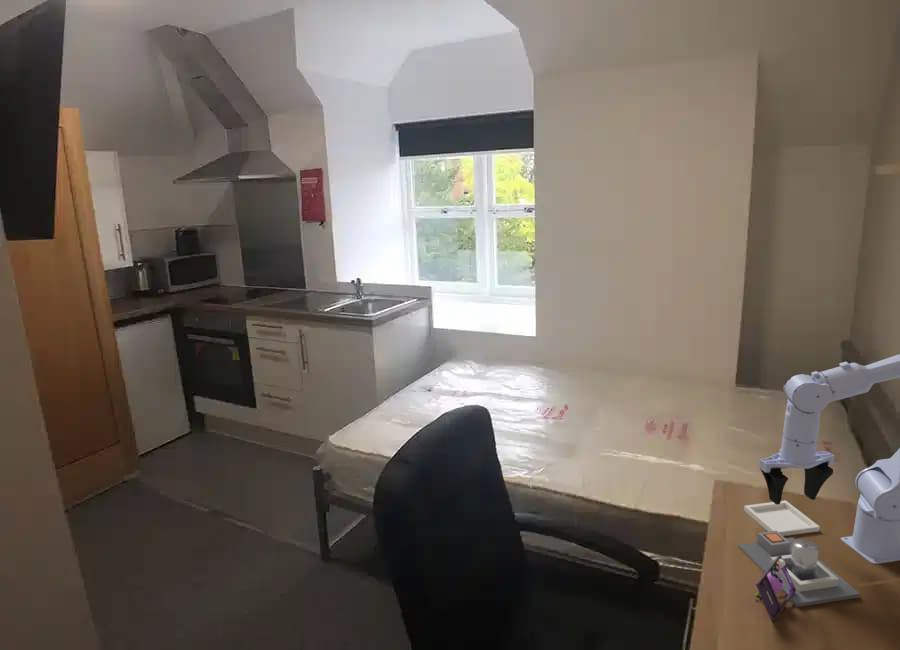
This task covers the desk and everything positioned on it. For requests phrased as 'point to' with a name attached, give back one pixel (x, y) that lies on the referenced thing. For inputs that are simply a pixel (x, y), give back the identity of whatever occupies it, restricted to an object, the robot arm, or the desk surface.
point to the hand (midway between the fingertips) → (792, 499)
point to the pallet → (808, 591)
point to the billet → (804, 559)
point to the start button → (773, 538)
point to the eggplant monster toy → (774, 588)
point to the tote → (781, 518)
